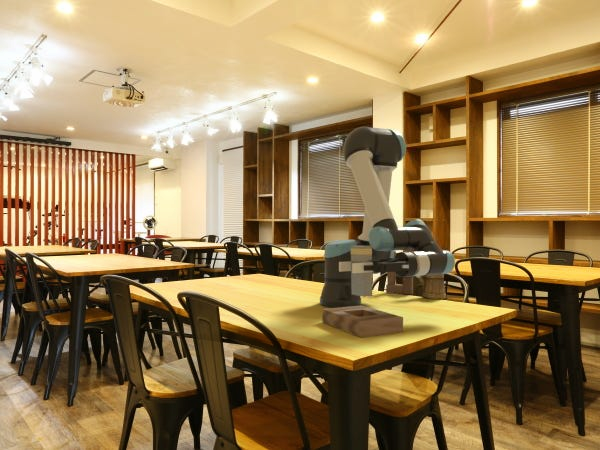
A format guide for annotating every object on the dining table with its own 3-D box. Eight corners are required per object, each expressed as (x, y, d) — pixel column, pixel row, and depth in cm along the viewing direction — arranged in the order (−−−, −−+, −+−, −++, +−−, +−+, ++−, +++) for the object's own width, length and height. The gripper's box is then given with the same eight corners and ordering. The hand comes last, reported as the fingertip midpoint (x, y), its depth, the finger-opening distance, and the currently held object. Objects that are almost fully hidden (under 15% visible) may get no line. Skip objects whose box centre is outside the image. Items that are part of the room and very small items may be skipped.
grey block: (351, 294, 132) (350, 245, 133) (360, 293, 134) (359, 245, 134) (363, 296, 127) (362, 246, 127) (372, 295, 128) (371, 246, 129)
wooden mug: (412, 294, 190) (412, 251, 190) (446, 296, 186) (446, 252, 186) (410, 298, 182) (410, 252, 182) (446, 299, 177) (446, 253, 177)
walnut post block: (322, 322, 137) (322, 309, 137) (361, 318, 143) (361, 305, 143) (360, 337, 119) (360, 322, 119) (403, 331, 125) (403, 317, 125)
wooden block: (411, 294, 190) (411, 251, 190) (386, 293, 194) (386, 250, 194) (413, 293, 193) (413, 251, 193) (388, 291, 198) (388, 250, 198)
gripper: (433, 279, 130) (365, 284, 120) (391, 274, 147) (329, 278, 137) (432, 252, 130) (365, 255, 120) (390, 250, 147) (328, 252, 137)
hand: (346, 267), depth 128 cm, fingers closed on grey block, 6 cm apart
